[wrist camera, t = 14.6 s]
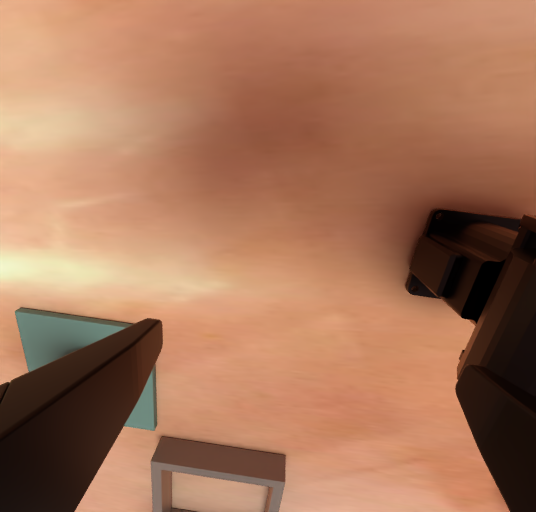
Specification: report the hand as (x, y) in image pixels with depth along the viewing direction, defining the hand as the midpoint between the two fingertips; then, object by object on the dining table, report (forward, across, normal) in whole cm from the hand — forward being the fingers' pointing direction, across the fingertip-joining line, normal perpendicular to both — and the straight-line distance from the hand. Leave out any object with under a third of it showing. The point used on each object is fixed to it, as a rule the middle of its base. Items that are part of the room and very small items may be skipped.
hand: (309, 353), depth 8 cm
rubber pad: (+13, +17, +16) cm, 27 cm away
